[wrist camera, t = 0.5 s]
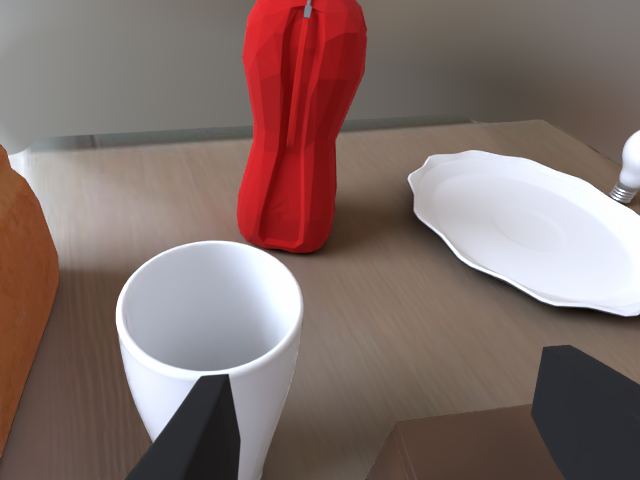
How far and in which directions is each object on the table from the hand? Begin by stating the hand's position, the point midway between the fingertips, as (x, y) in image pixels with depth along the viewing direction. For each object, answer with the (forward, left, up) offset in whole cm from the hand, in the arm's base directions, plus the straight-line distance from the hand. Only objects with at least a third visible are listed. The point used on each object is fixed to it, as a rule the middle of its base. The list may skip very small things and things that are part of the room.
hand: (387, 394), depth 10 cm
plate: (+28, -32, -18) cm, 47 cm away
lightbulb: (+34, -51, -18) cm, 64 cm away
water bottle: (+28, -3, -18) cm, 34 cm away
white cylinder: (+6, +4, -18) cm, 20 cm away
